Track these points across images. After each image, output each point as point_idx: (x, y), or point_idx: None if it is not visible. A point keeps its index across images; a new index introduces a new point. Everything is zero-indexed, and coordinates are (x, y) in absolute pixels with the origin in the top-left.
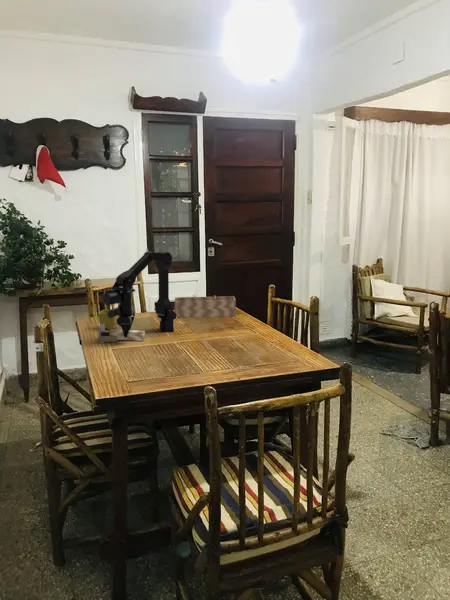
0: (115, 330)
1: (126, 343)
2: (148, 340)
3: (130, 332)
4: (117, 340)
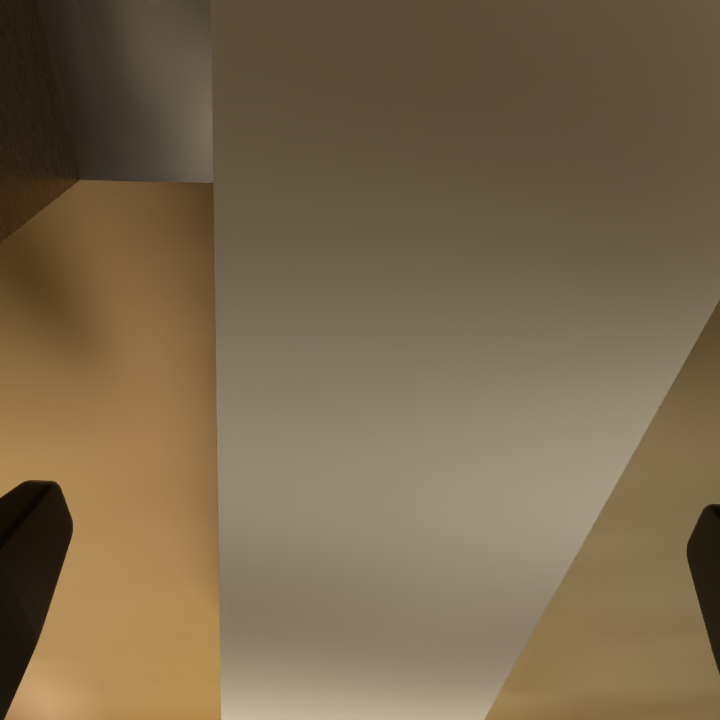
0: (392, 209)
1: (30, 410)
2: None
3: (224, 688)
4: (158, 177)
